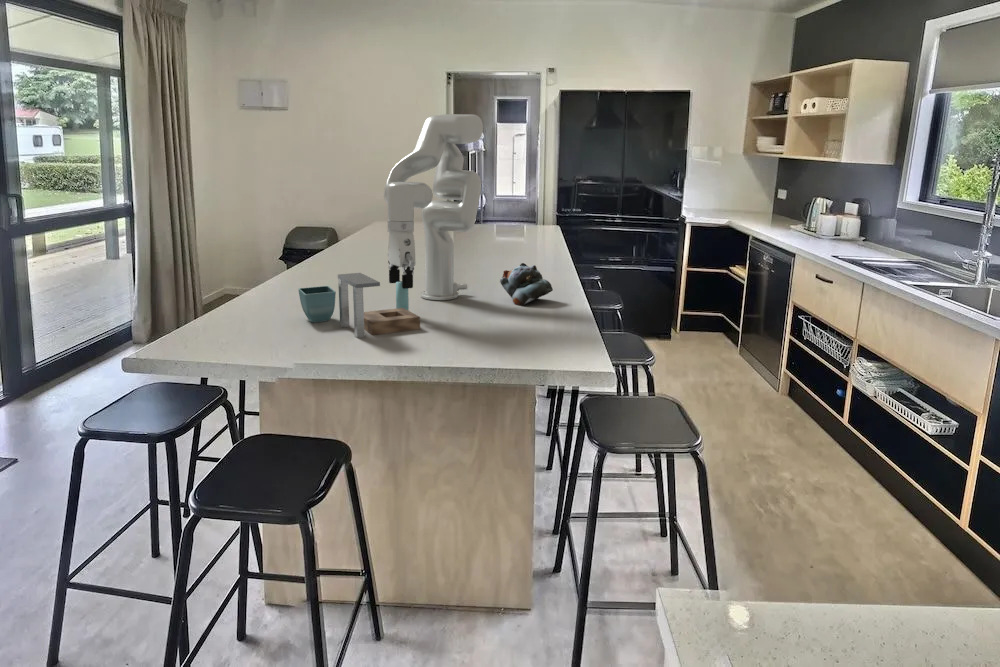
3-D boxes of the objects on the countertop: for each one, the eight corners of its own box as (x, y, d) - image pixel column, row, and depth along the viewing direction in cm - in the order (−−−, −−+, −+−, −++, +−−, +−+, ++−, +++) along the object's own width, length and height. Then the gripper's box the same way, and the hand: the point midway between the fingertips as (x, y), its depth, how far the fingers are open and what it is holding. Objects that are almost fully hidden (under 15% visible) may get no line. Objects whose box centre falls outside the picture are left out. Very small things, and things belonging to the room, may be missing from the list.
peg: (405, 313, 215) (405, 280, 213) (410, 315, 212) (410, 282, 210) (394, 314, 214) (393, 281, 211) (399, 317, 211) (398, 283, 208)
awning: (361, 322, 203) (360, 272, 199) (381, 335, 191) (379, 282, 187) (339, 325, 200) (337, 274, 196) (357, 338, 188) (356, 284, 184)
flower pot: (306, 325, 200) (304, 294, 197) (299, 318, 207) (297, 287, 205) (337, 322, 204) (336, 291, 201) (329, 315, 211) (328, 285, 209)
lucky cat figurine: (517, 307, 225) (500, 266, 226) (508, 313, 237) (492, 275, 237) (559, 291, 229) (542, 251, 230) (548, 298, 241) (532, 260, 241)
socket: (403, 319, 208) (402, 307, 207) (420, 329, 198) (419, 316, 197) (356, 324, 201) (356, 312, 200) (372, 335, 191) (371, 322, 190)
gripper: (425, 229, 201) (424, 289, 205) (401, 224, 215) (401, 280, 219) (400, 230, 197) (400, 291, 201) (377, 224, 211) (378, 281, 215)
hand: (400, 285), depth 210 cm, fingers open, 9 cm apart
